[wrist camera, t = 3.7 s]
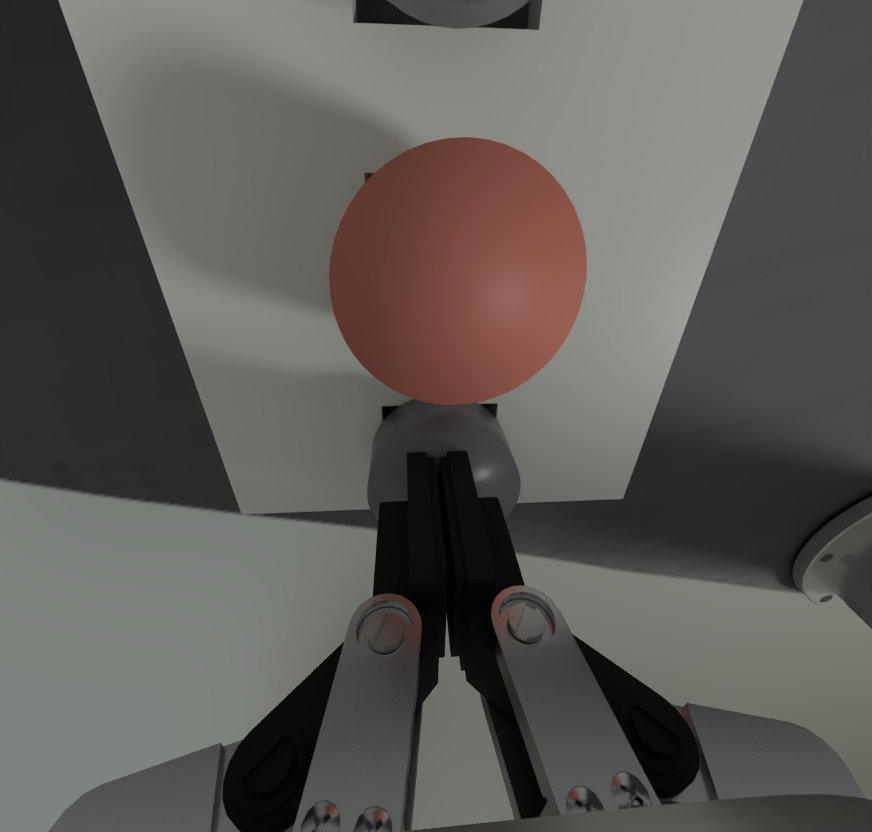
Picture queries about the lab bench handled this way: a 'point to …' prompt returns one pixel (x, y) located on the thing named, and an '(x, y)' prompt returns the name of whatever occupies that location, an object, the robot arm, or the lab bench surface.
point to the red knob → (458, 271)
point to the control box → (386, 139)
